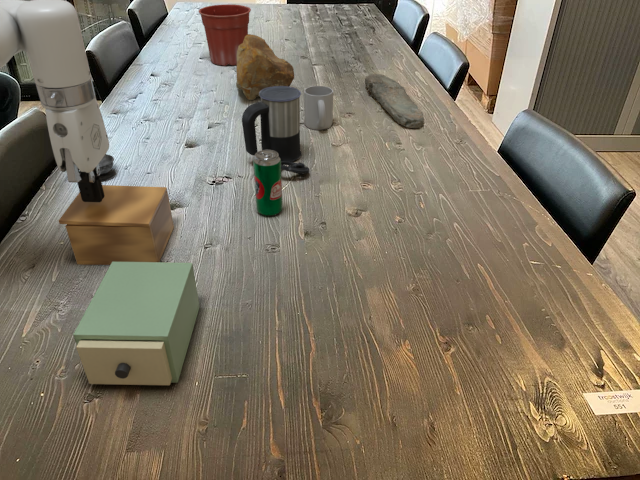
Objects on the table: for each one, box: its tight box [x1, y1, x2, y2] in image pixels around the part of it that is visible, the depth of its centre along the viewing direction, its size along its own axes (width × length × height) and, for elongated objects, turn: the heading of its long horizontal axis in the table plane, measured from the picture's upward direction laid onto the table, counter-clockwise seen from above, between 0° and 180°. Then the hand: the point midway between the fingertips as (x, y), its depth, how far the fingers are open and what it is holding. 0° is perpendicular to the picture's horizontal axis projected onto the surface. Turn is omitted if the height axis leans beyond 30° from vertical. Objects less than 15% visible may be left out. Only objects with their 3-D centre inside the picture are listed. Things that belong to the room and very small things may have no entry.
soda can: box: [252, 149, 284, 217], centre depth 102 cm, size 5×5×12 cm
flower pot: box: [198, 3, 252, 67], centre depth 176 cm, size 16×16×16 cm
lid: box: [58, 184, 168, 227], centre depth 91 cm, size 14×12×1 cm
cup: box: [303, 85, 334, 131], centre depth 135 cm, size 7×10×9 cm
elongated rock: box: [364, 73, 425, 129], centre depth 149 cm, size 35×5×10 cm
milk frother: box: [241, 86, 310, 176], centre depth 117 cm, size 14×16×15 cm
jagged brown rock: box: [235, 33, 295, 101], centre depth 153 cm, size 23×17×15 cm
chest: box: [65, 190, 175, 266], centre depth 93 cm, size 14×12×8 cm
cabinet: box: [72, 261, 201, 384], centre depth 74 cm, size 15×12×9 cm
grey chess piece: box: [99, 153, 117, 182], centre depth 113 cm, size 6×6×12 cm
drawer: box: [75, 339, 172, 386], centre depth 72 cm, size 15×10×7 cm
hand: (93, 199), depth 90 cm, fingers closed
